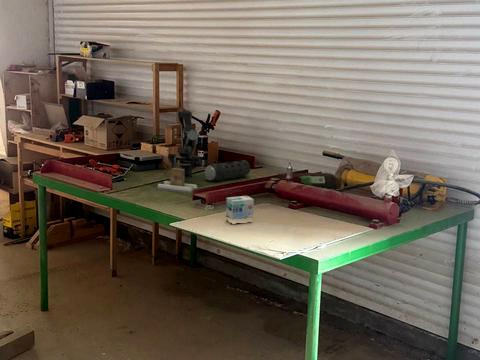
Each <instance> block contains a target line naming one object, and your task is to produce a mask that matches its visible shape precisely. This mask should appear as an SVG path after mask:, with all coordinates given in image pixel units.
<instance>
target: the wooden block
mask: <svg viewBox="0 0 480 360" xmlns="http://www.w3.org/2000/svg"><path fill="white" fill-rule="evenodd" d="M179 168H180V167H179ZM179 168H177V167H175V168H172V167H171V168H170V177H169V178H170V180H169V182H170V185H174V186H182V187H184V184H185V177H184V169H179Z"/></svg>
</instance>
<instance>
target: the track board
mask: <svg viewBox="0 0 480 360" xmlns="http://www.w3.org/2000/svg"><path fill="white" fill-rule="evenodd" d="M196 188H198V185H197V184H193V183H184V187H182V186H174V185H170V181H166V180H164V181H163V183H158V184H157V187H156V190H161V191H165V192H166V191H167V192H173V193H174V192H175V193H182V194H183V193H184V194H191V193H193V192H194V191H193V190H194V189H196ZM198 189H199V188H198ZM192 191H193V192H192Z"/></svg>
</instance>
